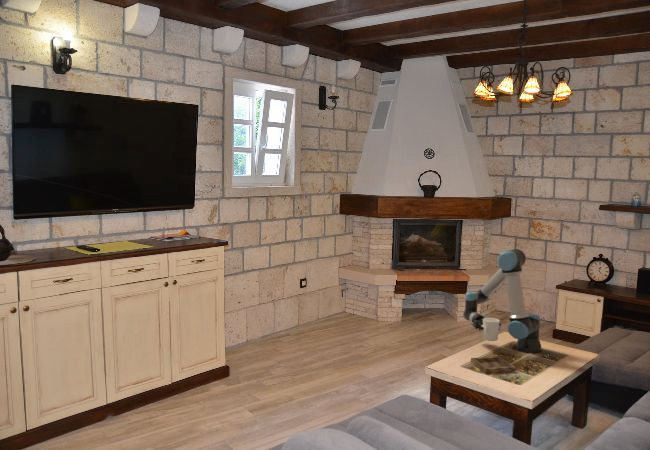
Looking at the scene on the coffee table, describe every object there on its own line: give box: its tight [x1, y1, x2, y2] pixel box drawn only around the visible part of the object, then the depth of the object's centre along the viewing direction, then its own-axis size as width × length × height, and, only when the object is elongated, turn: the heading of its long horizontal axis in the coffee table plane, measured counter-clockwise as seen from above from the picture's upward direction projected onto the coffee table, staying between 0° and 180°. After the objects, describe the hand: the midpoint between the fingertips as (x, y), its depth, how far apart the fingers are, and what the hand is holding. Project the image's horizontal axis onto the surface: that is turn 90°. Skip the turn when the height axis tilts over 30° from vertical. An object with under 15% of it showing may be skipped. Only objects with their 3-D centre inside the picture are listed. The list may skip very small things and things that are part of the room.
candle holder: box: [482, 317, 501, 342], centre depth 318 cm, size 10×10×12 cm
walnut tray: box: [470, 356, 516, 375], centre depth 302 cm, size 18×18×3 cm
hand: (494, 330), depth 313 cm, fingers closed on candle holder, 9 cm apart
